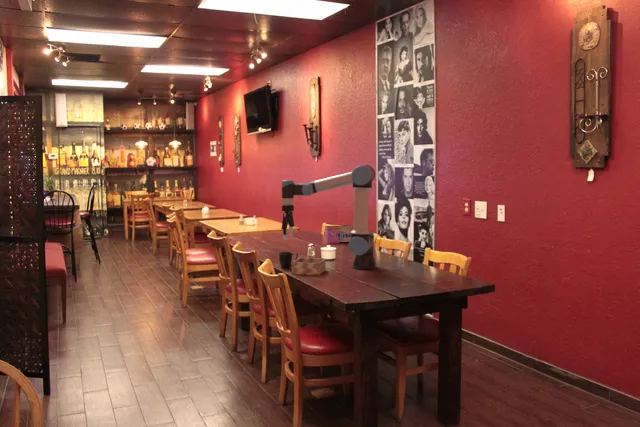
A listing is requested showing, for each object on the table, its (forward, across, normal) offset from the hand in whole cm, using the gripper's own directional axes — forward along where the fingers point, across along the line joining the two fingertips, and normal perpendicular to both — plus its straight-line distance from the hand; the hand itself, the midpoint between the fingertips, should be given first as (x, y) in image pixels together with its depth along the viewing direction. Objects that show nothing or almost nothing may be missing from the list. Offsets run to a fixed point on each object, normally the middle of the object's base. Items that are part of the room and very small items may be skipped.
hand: (288, 238), depth 372 cm
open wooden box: (+19, +11, +16) cm, 27 cm away
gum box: (+19, -117, +11) cm, 119 cm away
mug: (+19, 0, 0) cm, 19 cm away
